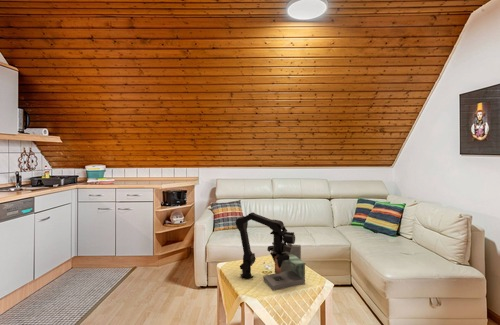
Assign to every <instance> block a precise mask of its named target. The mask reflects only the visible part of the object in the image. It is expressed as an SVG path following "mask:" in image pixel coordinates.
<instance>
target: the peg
mask: <svg viewBox="0 0 500 325" xmlns="http://www.w3.org/2000/svg"><path fill="white" fill-rule="evenodd" d="M277 257H278V256H275V262H274V274H275V273H276V274H280V273H281V267H280V268H279V267H278V264H277V260H276V258H277Z"/></svg>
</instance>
